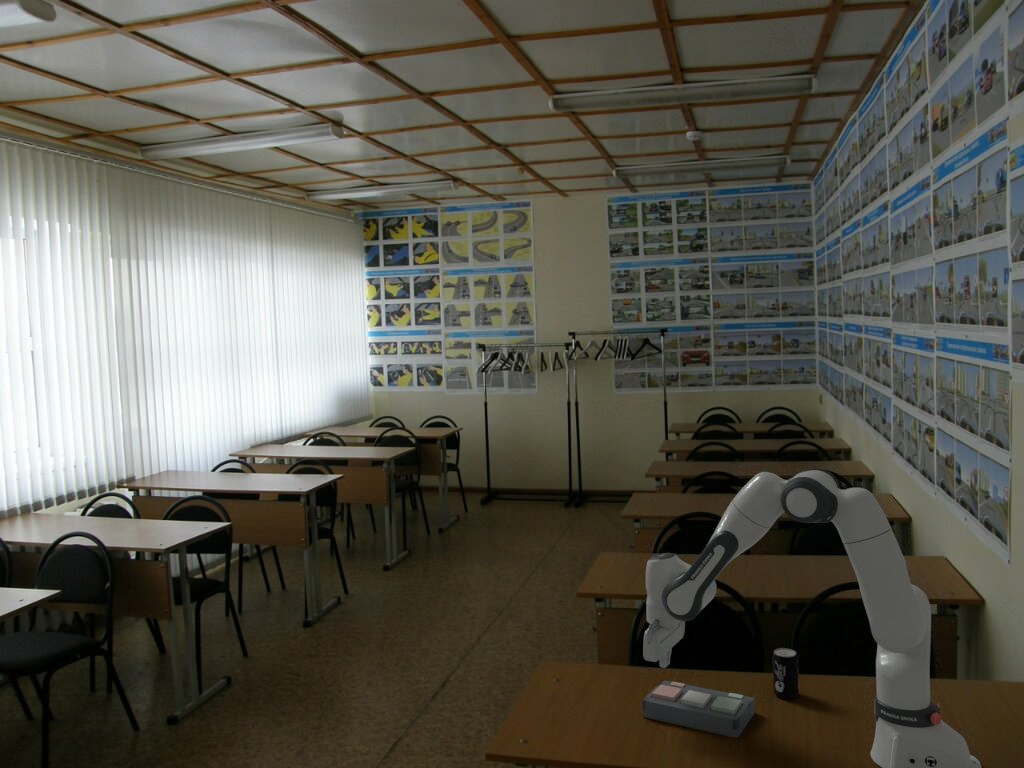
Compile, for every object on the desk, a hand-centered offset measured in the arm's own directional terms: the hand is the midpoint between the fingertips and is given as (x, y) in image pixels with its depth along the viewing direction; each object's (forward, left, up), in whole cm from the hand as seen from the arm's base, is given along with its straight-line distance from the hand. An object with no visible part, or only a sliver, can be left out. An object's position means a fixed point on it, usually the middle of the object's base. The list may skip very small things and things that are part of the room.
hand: (664, 665), depth 217 cm
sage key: (-16, 0, -9) cm, 19 cm away
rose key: (0, 0, -9) cm, 9 cm away
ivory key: (-8, 0, -9) cm, 12 cm away
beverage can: (-25, -23, -13) cm, 36 cm away
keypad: (-8, -2, -12) cm, 15 cm away
